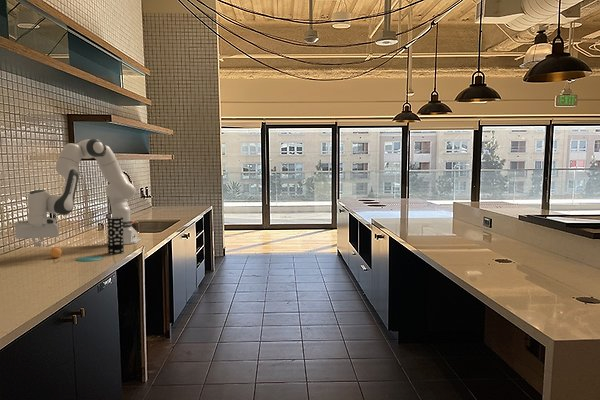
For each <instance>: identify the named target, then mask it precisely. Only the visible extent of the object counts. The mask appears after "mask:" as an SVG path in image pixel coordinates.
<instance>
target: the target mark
mask: <svg viewBox="0 0 600 400" xmlns="http://www.w3.org/2000/svg"><path fill="white" fill-rule="evenodd" d="M100 259H101V260H103V259H104V257H103V256H99V255H89V256H88V255H87V256H80V257H78V258H76V259H75V260H76V261H78V262H84V263H85V262H95V261H96V260H97V261H100ZM97 261H96V262H97Z"/></svg>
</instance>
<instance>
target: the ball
mask: <svg viewBox="0 0 600 400" xmlns="http://www.w3.org/2000/svg"><path fill="white" fill-rule="evenodd" d="M62 252H63V251H62V249H61V248H60V247H53V248H51V249H50V252H49V255H50V256H51V258H55V259H57V258H60V257H61V255H62V254H63V253H62Z"/></svg>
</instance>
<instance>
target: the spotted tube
mask: <svg viewBox="0 0 600 400" xmlns="http://www.w3.org/2000/svg"><path fill="white" fill-rule="evenodd" d="M106 224H107V241H108V243H107V254H108V255H121V254H123V253H125V252H124V251H125V250H124V249H125V248H124V245H125V244H124V240H123V217H112V216H111V217H107V219H106Z"/></svg>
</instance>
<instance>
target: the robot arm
mask: <svg viewBox="0 0 600 400" xmlns="http://www.w3.org/2000/svg"><path fill="white" fill-rule="evenodd" d="M93 158H94V159H95V160H96V162H97V165H98V167H99V169H100V172H101V174H102V175H103V177H104V179H105V180H106V181H107V182H108V183H109V184H107V186H106V188H105V193H106V195H107V196H108V200H109V203H110V210H111V217H123V240H124V245H131V244H132V245H133V244H137V243H138V242H140V241H141V240H142V238H139V237H138V232H137V230H136V229H135V228H134V227H133V224H134V220H131V208H130V206H129V203H128V201H127V200H131V199H134V197H135V196H136V194H137V189H136V187H135V186H134V185H133V184H132V183H131V181H129V179H128V177H127V176H126V175H125V173H124V172H123V169H122V168H121V165H120V164H119V162H118V159H117V157H116V155H115V153H114V151H113V150H112V149H111V147H110V146H109V145H106V144H104V142H103V141H102V140H100V139H98V138H97V139H96V138H90V139H89V138H88V139H84V140H79V141H76V142H75V143H70V142H69V143H66V144H65V145H64V146H63V148H62V149H61V151H60V153H59V155H58V158H57V160H56V163H55V171H56V173H58V174H59V176H61V177H63V178H64V180H65V182H64V187H63V191H62V193H61V195H52V194H50V193H48V192H47V191H45V190H44V189H35V190H31V191H29V193H28V195H27V196H28V197H27V209H28V213H27V220H18V221H15V223H14V229H15V235H14V236H15V239H18V240H19V239H21V240H22V239H31V241H32V242H33V243H34V247H41V246H42V242H43V240H44V238H58V237H59V236H60V230H59V226H58V224H57V219H55V218H53V217H49V216H48V213H50V214H56V215H62V216H67V215H69V214H71V212H72V211H73V209H74V207H75V196H76V192H77V191H76V190H77V186H78V182H79V172H78V169H79V165H80V162H81V161H82V160H85V159H89V160H90V159H93ZM36 239H39V240H40V241H39V242H36ZM106 243H107V244H108V240H107V241H106Z"/></svg>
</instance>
